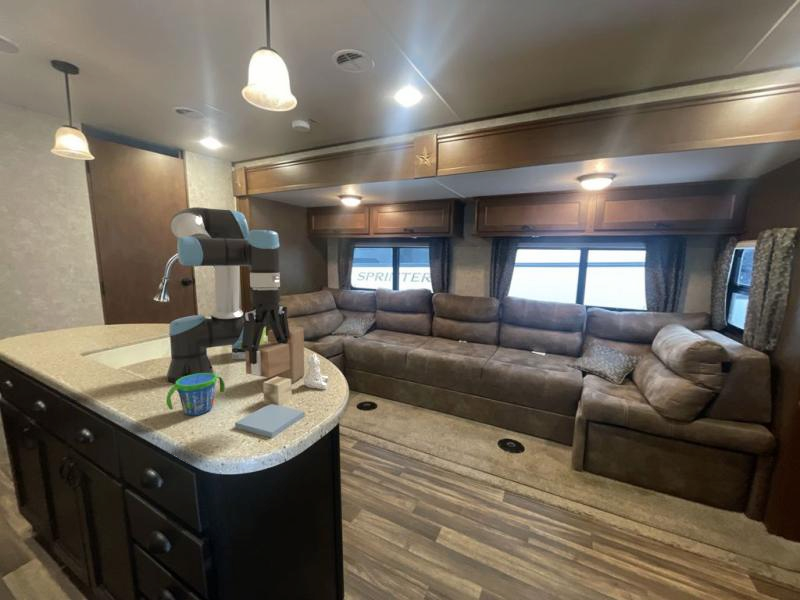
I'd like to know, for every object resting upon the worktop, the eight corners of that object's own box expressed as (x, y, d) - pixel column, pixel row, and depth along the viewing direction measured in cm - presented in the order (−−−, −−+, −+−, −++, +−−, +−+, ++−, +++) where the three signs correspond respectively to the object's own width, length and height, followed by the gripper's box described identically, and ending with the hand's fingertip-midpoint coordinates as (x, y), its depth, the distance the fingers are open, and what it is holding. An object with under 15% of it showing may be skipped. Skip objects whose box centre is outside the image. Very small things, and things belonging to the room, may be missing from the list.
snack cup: (174, 426, 90) (171, 390, 89) (162, 414, 97) (160, 381, 96) (232, 407, 102) (231, 376, 101) (218, 398, 109) (217, 368, 107)
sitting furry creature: (326, 390, 117) (326, 357, 115) (301, 391, 115) (301, 358, 114) (328, 380, 126) (328, 350, 124) (305, 381, 125) (304, 350, 123)
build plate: (235, 427, 90) (235, 422, 90) (270, 408, 102) (270, 403, 102) (272, 437, 85) (272, 432, 85) (304, 416, 97) (304, 411, 97)
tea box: (253, 360, 150) (252, 328, 148) (231, 359, 150) (230, 328, 148) (267, 351, 165) (266, 322, 163) (247, 350, 165) (246, 321, 163)
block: (292, 385, 121) (290, 331, 118) (268, 382, 123) (266, 330, 120) (305, 375, 131) (304, 326, 128) (282, 373, 132) (281, 325, 130)
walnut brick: (246, 373, 89) (245, 348, 88) (268, 365, 97) (267, 341, 96) (268, 377, 86) (267, 351, 85) (289, 368, 94) (289, 344, 93)
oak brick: (264, 403, 105) (263, 382, 104) (277, 396, 111) (276, 376, 110) (278, 406, 103) (278, 385, 102) (291, 399, 109) (291, 379, 108)
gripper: (244, 292, 78) (248, 384, 80) (302, 286, 97) (303, 361, 100) (221, 290, 81) (226, 380, 83) (282, 285, 100) (284, 358, 102)
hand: (268, 369), depth 91 cm, fingers closed on walnut brick, 8 cm apart
